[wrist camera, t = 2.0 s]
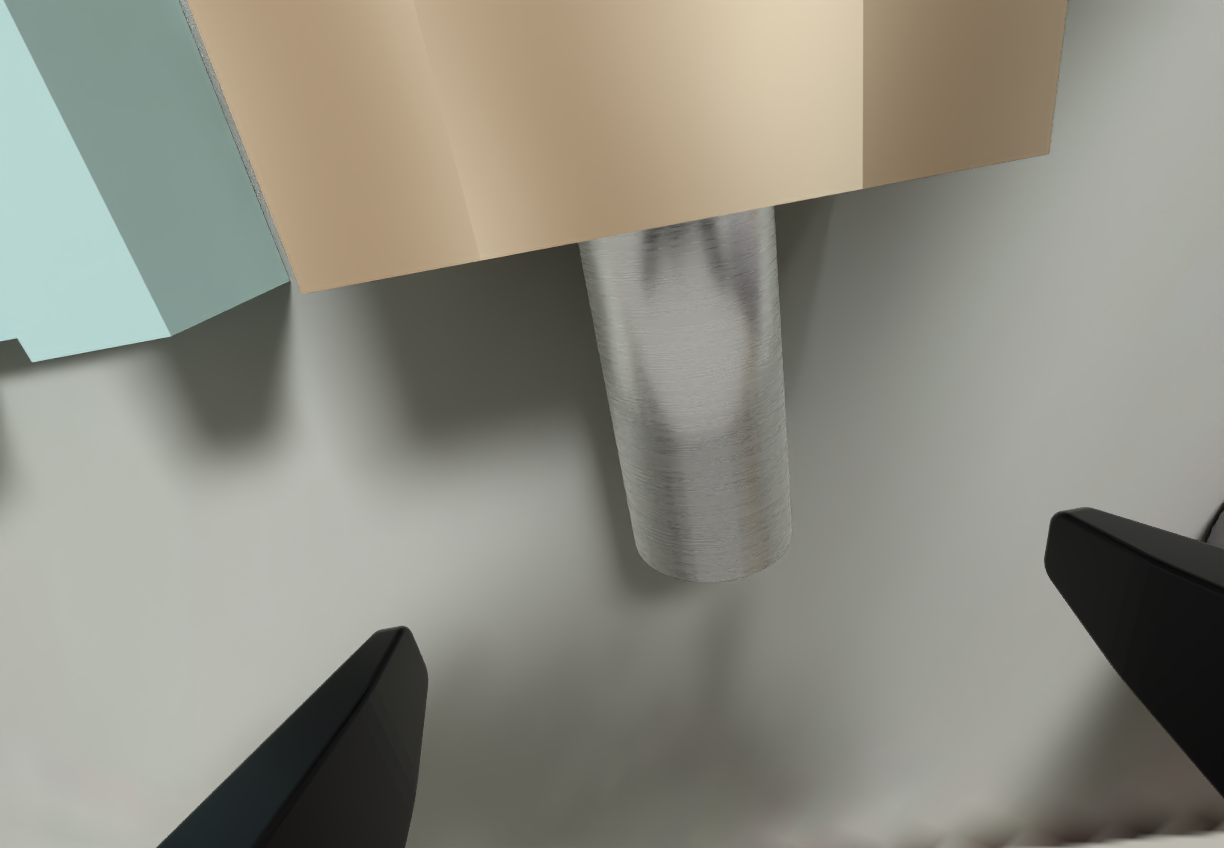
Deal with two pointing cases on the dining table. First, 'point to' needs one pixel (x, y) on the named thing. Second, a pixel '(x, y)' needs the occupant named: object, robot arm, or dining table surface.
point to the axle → (696, 390)
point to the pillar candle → (1217, 532)
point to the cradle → (117, 181)
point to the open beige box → (605, 113)
